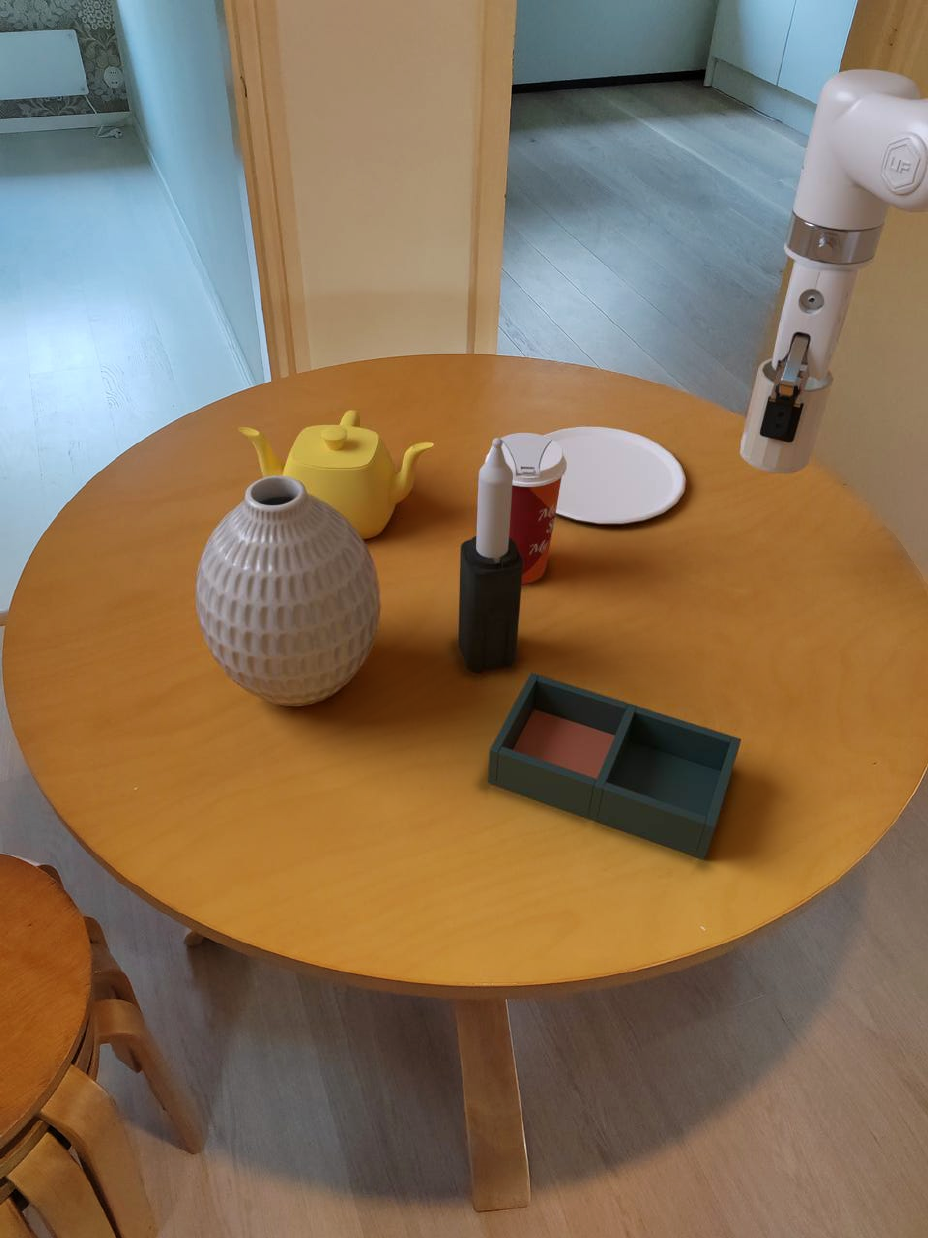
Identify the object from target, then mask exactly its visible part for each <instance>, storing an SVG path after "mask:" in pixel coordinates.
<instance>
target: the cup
mask: <svg viewBox="0 0 928 1238" xmlns="http://www.w3.org/2000/svg"><path fill="white" fill-rule="evenodd" d="M772 360H773V357H771V358H768V359H766V360H764V361H762V362H761V363H760V364H759V367H758V369H757V373H756V378H755V382H754V386H753V389H752V394H751V399H750V403H749V407H748V410H747V415H746V419H745V423H744V428H743V432H742V435H741V440H740V444H739V445H740V447H739V453H740V456H741V458H742V460H744V461H745V462H746V463H747V464H748V465H750V466H751V467H753V468H755V469H757V470H759V471H762V472H767V473H770V474H777V475H786V474H795V473H798V472H800V471H802V470H804V469H805V468H807V466H808V465H809V463H810V460H811V457H812V453H813V450H814V446H815V443H816V440H817V436H818V433H819V429H820V426H821V423H822V419H823V416H824V412H825V410H826V405H827V403H828V399H829V395H830V392H831V390H832V386H833V382H834V377H833V374H832V373H831V371H830V370H828V372H827V375H826V377H824V378H823V379H821V380H817V378H814V377H809V378H808V382H807V385H806V388H805V392H804V395H803V398H802V402H801V403H804V406H803V409H802V413H801V416H800V420H799V423H798V427H797V431H796V434H795V438H794V440H793V442H790V443H788V442H784V441H780V440H775V439H771V438H767V437H763V436H761V435H760V429H761V425H762V421H763V417H764V413H765V409H766V405H767V401H768V397H769V396H771V393H772V390H773V386H774V383H775V379H776V376H777V372H778V370H777V371H775V370H774V369H773V367H772ZM786 364H787V361H786V362H785V366H784V367H786ZM806 369H807V365H804V364H802V365H801V368H800V371H805V372H806ZM801 380H802V378H799V377H798V378H797V382H796V385H795V386H798V390H799V386H800V383H801Z"/></svg>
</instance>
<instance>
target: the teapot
mask: <svg viewBox="0 0 928 1238" xmlns="http://www.w3.org/2000/svg"><path fill="white" fill-rule="evenodd" d="M237 429H238V432H240V434H242V435H243V436H245V437H246V438H247V439H248V440H249V441H250V442H251V443H252V445H253V447H254V448H255V451H256V454H257V456H258V462H259V466H260V471H261V474H262V478H265V477H269V476H288V477H291V478H294V479H297V480H299V481H300V482H301V483H302V484H303V485H304V486H305V488H306V491H307V493H309V494H311V495H313V496H315V497H317V498H319V499H321V500H322V501H324V502H326V503H328V504H329V505H331V506H332V507H334V508H335V509H336V510H338V511H339V512H340V513H341V514H343V515H344V516H345V517H346V518H347V519H348V520H349V521H350V522H351V524H352V525H353V526H354V527H355V528H356V530H357V531H358V533H359V534H360V536H361V537H362V539H363V540H367V539H372V538H374V537H377V536H379V535H380V534H381V533H382V532H383V531H384V529H385V528H386V526H387V525H388V523H389V521H390V519H391V518H392V515H393V513H394V511H395V509H396V505H397V504H398V503H400V502H402V501H403V500H404V499H405V498H407V497H408V496H409V494H410V492H411V490H412V488H413V486H414V482H415V476H416V467H417V462H418V460H419V458H420V456H421V455H422V454H423V453H424V452H426V451H428V450H429V449H431V448H433V446H434V445H435V444H434V443H433V442H430V441H429V442H428V441H425V442H419V443H415V444H413V445H411V446H410V447H409V448H408V449H406V451H405V453H404V455H403V460H402V465H401V468H400V470H399V471H397V470H396V467H395V464H394V460H393V457H392V456H391V454H390V451H389V449H388V447H387V446H386V444H385V442H384V441H383V439H382V437H381V436H380V434H378V433H377V432H375V431H373V430H371V429H368V428H364V427H361V416H360V414H359V412H358V411H357V410H354V409H353V410H352V409H351V410H347V411H346V412H345V413H344V414H343V416H342V418H341V420H340V423H339V424H317V425H316V424H315V425H310V426H307V427H305V428H303V429H302V430H301V431H300V432H299V434H298V435H297V437H296V438H295V440H294V443H293V444H292V447H291V448H290V451H289V454H288V455H287V459H286V462H285V463H284V462H282V461H281V460H280V459H279V458H278V457H277V456H276V455H275V453H274V451H273V449H272V446H271V444H270V442H269V441H268V439H267V438H266V436H265V435H264V434H263V433H262V432H260V431H259V430H257V429H254V428H251V427H247V426H239V427H238V428H237Z"/></svg>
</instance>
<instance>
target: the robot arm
mask: <svg viewBox="0 0 928 1238" xmlns="http://www.w3.org/2000/svg"><path fill="white" fill-rule="evenodd" d="M814 112H815V113H814V116H813V121H812V125H811V129H810V134H809V138H808V141H807V142H808V143H807V147H806V151H805V154H804V160H803V163H802V168H801V172H800V177H799V181H798V185H797V188H796V194H795V197H794V200H793V201H794V202H793V206H792V210H791V214H790V219H789V222H788V223H789V224H788V227H787V231H786V235H785V236H786V237H785V240H784V244H783V251H784V253H785V254H786V256H788V258H790V259H792V260H794V261H793V265H792V266H793V267H792V270H791V274H790V277H789V281H788V286H787V289H786V294H785V298H784V303H783V306H782V311H781V316H780V320H779V324H778V329H777V335H776V340H775V345H774V349H773V355H772V358H773V360H772V367H773V369H774V370H775V371H777V370H778V372H777V376H776V379H775V383H774V386H773V390H772V393H771V396H769V397H768V401H767V405H766V409H765V413H764V417H763V421H762V425H761V429H760V435H761V436H763V437H767V438H771V439H775V440H780V441H784V442H788V443H790V442H793V440H794V438H795V434H796V431H797V427H798V423H799V420H800V416H801V413H802V409H803V406H804V403H801V402H802V398H803V395H804V392H805V388H806V385H807V382H808V378H809V377H814V378H817V380H821V379H823V378H824V377H826V375H827V372H828V370H829V369H830V366H831V364H832V362H833V359H834V356H835V353H836V350H837V347H838V344H839V340H840V336H841V333H842V330H843V326H844V323H845V319H846V316H847V312H848V309H849V305H850V302H851V299H852V295H853V292H854V289H855V285H856V279H857V276H858V272H859V270H860V269H865V268H866V267H867V266H869V265H871V264H872V263H873V262H874V258H875V256H876V251H877V248H878V245H879V241H880V239H881V235H882V232H883V228H884V225H885V222H886V219H887V215H888V213H889V208H890V207H891V206H892V207H893V208H895V209H898V210H900V211H903V212H909V213H927V212H928V97H926V98H921V92H920V89H919V86H918V85H917V84H916V82H915V81H913V80H912V79H911V78H908V77H907V76H905V75H902V74H899V73H896V72H893V71H887V70H881V69H869V68H856V69H848V70H844V71H840V72H837V73H836V74H834V75H832V76H831V77H829V78H828V79H827V81H826V82H825V83H824V85H823V87H822V88H821V91H820V93H819V96H818V100H817V104H816V109H815V111H814ZM786 361H787V364H786V367H784V366H785V362H786ZM802 364H804V365H807V369H806V372H805V371H800V368H801V365H802ZM829 371H830V370H829ZM798 377H799V378H802V380H801V383H800V386H799V390H798V386H795V385H796V382H797V378H798Z"/></svg>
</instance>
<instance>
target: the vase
mask: <svg viewBox="0 0 928 1238" xmlns="http://www.w3.org/2000/svg"><path fill="white" fill-rule="evenodd" d="M364 540H365V539H362V537H361V536H360V534H359V533H358V531H357V530H356V528H355V527H354V526H353V525H352V524H351V522H350V521H349V520H348V519H347V518H346V517H345V516H344V515H343V514H341V513H340V512H339V511H338V510H336V509H335V508H334V507H332V506H331V505H329V504H328V503H326V502H324V501H322V500H321V499H319V498H317V497H315V496H313V495H311V494H309V493H307V491H306V488H305V486H304V485H303V484H302V483H301V482H300V481H299V480H297V479H294V478H291V477H288V476H269V477H265V478H264V477H262V478H259V479H257V480H255V481H254V482H253V483H251V484H250V485H249V486H248V487H247V488H246V490H245V492H244V499H242V501H240V502H239V503H238V504H237V505H236V506H235V507H233V509H232V510H230V511H229V512H228V513H227V514H226V515H225V516H224V517H223V518H222V519H221V521H220V522H219V523H218V524H217V526H216V527H215V528H213V531H212V533H211V534H210V536H209V538H208V539H207V542H206V544H205V546H204V548H203V551H202V553H201V558H200V561H199V562H198V563H199V564H198V566H197V572H196V580H195V590H194V591H195V606H196V607H195V609H196V612H197V618H198V623H199V626H200V631H201V634H202V636H203V638H204V641H205V643H206V646H207V647H208V649H209V652H210V654H211V656H212V657H213V659H214V660H215V661H216V663H217V664H218V666H219V667H220V668H221V670H223V672H224V673H225V675H227V677H228V678H229V679H231V680H232V681H233V682H234V683H235V684H236V685H238V686H239V687H240V688H242V689H244V690H245V691H246V692H248V693H249V694H251V695H253V696H255V697H256V698H258V699H261V700H263V701H266V702H268V703H271V704H275V705H278V706H284V707H302V706H308V705H313V704H316V703H318V702H322V701H324V700H327V699H328V698H331V697H332V696H333V695H334V694H336V693H338V692H339V691H340V690H341V689H342V688H343V687H344V686H346V685H347V684H348V683H349V682H350V681H351V680H352V679H353V677H354V676H355V675H356V674H358V671H359V670H360V669H361V668H362V666H363V665H364V664H365V662H366V661H367V659H368V657H369V655H370V653H371V650H372V648H373V645H374V643H375V641H376V637H377V634H378V630H379V625H380V618H381V608H382V605H381V588H380V582H379V576H378V571H377V567H376V565H375V562H374V559H373V557H372V554H371V552H370V550H369V547H368V545H367V543H366V541H364Z"/></svg>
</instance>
